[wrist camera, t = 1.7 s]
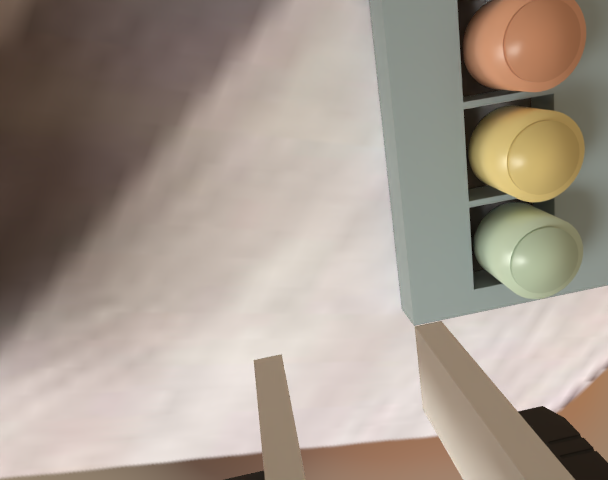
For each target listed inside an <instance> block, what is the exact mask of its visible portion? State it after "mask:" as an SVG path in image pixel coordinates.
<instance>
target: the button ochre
mask: <svg viewBox="0 0 608 480" xmlns="http://www.w3.org/2000/svg"><path fill="white" fill-rule="evenodd" d="M584 153H585V145H584V138H583V135H582V132H581V130H580V128H579V127H578V125H577V124H576V123H575V121H574V120H573V119H571V118H570V117H569V116H567V115H565V114H563V113H561V112H558V111H552V110H545V109H537V108H530V107H522V106H504V107H500V108H498V109H495V110H494V111H492V112H490V113H489V114H487V115H486V116H485V117H484V118H483V119H482V120H481V121H480V122H479V123H478V125H477V126H476V128H475V129H474V131H473V133H472V136H471V138H470V142H469V147H468V157H469V163H470V166H471V168H472V170H473V172H474V174H475V175H476V176H477V178H478V179H480V180H481V181H482V182H483V183H485V184H487V185H489V186H491V187H493V188H496V189H498V190H500V191H502V192H504V193H507V194H509V195H511V196H513V197H515V198H518V199H520V200H523V201H526V202H542V201H546V200H549V199H552V198H554V197H556V196H558V195H559V194H561V193H562V192H563V191H565V190H566V189H567V188H568V187H569V186H570V185H571V184H572V182H573V181H574V180H575V178H576V177H577V175H578V173H579V171H580V169H581V166H582V163H583V159H584Z"/></svg>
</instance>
